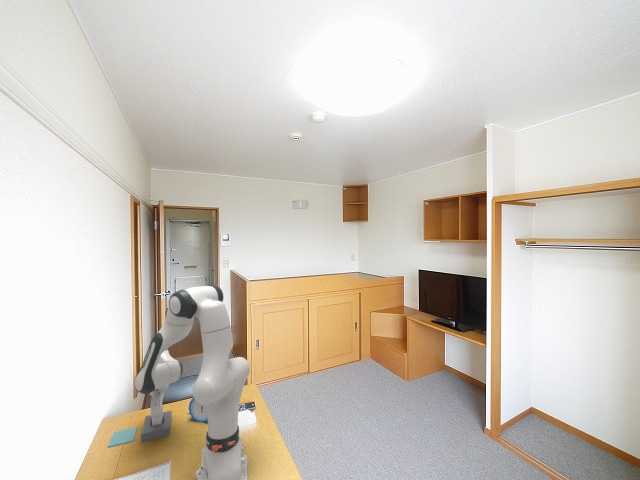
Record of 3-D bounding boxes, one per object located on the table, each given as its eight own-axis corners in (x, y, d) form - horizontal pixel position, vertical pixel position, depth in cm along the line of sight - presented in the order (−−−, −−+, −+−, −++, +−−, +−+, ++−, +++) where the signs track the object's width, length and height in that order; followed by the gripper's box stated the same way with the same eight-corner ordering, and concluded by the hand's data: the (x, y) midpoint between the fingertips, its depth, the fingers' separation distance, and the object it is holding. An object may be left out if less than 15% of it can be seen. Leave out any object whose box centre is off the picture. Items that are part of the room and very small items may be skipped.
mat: (133, 442, 120) (133, 440, 120) (107, 449, 116) (107, 446, 116) (137, 428, 129) (137, 426, 129) (113, 434, 125) (113, 432, 125)
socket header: (169, 436, 124) (169, 427, 124) (140, 443, 119) (140, 434, 120) (171, 418, 137) (171, 410, 137) (145, 424, 132) (145, 416, 132)
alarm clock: (188, 422, 134) (188, 390, 135) (195, 414, 140) (195, 384, 141) (213, 424, 133) (214, 392, 133) (219, 416, 139) (220, 386, 139)
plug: (161, 430, 127) (162, 405, 127) (151, 433, 125) (152, 407, 126) (162, 425, 131) (163, 400, 131) (152, 427, 129) (153, 402, 129)
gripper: (163, 394, 121) (163, 426, 120) (167, 374, 139) (166, 402, 139) (146, 397, 118) (146, 430, 118) (152, 377, 136) (152, 405, 136)
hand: (157, 415), depth 128 cm, fingers open, 7 cm apart
